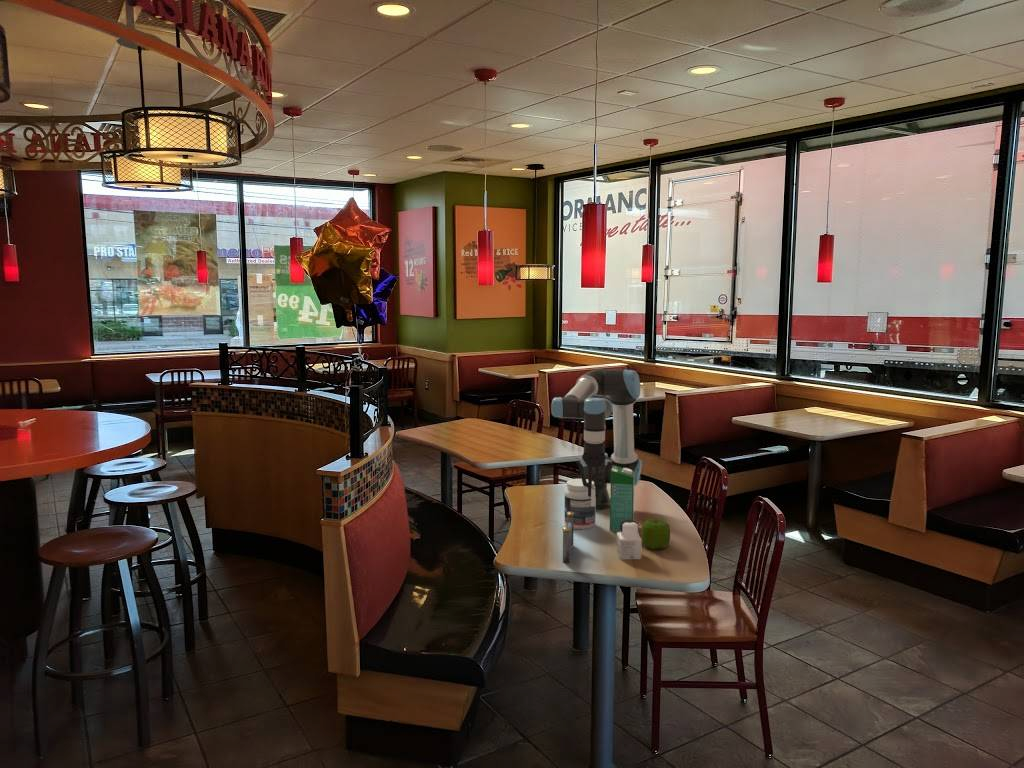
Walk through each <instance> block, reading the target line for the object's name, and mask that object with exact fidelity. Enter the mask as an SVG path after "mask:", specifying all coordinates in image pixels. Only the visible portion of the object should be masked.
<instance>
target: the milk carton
mask: <svg viewBox="0 0 1024 768" xmlns="http://www.w3.org/2000/svg"><path fill="white" fill-rule="evenodd" d="M634 476H635V472H634V471H632V470H631V469H628V468H620V467H617V466H614V465H612V469H611V484H610V494H609V497H610V507H609V508H610V509H609V531H611V532H620V523H621V522H622V521H624V520H634V514H635V513H634V510H635V509H634V507H635V502H634V501H635V486H634Z"/></svg>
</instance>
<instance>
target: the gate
mask: <svg viewBox="0 0 1024 768" xmlns="http://www.w3.org/2000/svg"><path fill="white" fill-rule="evenodd" d="M568 527H570V548H569V558H571V556H572V554H571V552H572V546H571V544H572V522H569V523H568Z"/></svg>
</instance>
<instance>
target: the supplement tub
mask: <svg viewBox="0 0 1024 768" xmlns="http://www.w3.org/2000/svg"><path fill="white" fill-rule="evenodd" d="M586 481H587V483H588V479H586ZM592 487H595V486H594V482H593V481H592ZM596 510H597V509H596V503H595V506H591V497H588V487H586V486H583V482H582V479H581V478H572V479H568V480H567V482H566V488H565V491H564V518H563V519H564V521H563V523H564V525H565V526H567V512H574V528H573V530H581V531H583V530H589V529H592V528H593V527H595V526H596V519H597V516H596V514H597V513H596Z"/></svg>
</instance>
